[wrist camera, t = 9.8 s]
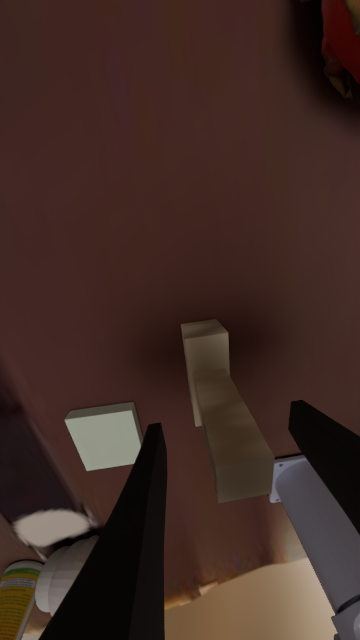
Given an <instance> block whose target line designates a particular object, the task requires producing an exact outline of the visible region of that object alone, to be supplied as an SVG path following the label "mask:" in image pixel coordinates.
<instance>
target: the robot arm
mask: <svg viewBox="0 0 360 640" xmlns="http://www.w3.org/2000/svg"><path fill="white" fill-rule="evenodd" d="M288 430H289V431H290V433H291V435H292V437H293V438H294V440H295V442H296V444H297V445H298V447H299V449H300V450H301V452H302V453H303V455H300V456H294V457H288V458H282V459H277V460H274V472H273V484H272V494H269V500H270V502H271V503H275V502H282V504H283V506H284V508H285V510H286V512H287V514H288V517H289V519H290V521H291V523H292V525H293V527H294V529H295V531H296V533H297V535H298V537H299V540H300V542H301V544H302V546H303V548H304V550H305V552H306V554H307V556H308V558H309V560H310V563H311V565H312V566H313V569H314V571H315V573H316V575H317V577H318V579H319V581H320V583H321V586H322V587H323V590H324V592H325V594H326V596H327V598H328V600H329V602H330V604H331V606H332V609H333V611H334V613H335V616H332V617H331V619H332V621H333V624H334V626H335V628H336V630H337V632H338V633H337V634H335V635H334V640H360V436H358V435H356V434H355V433H353V432H352V431H350V430H348V429H347V428H345V427H344V426H342V425H341V424H339V423H337V422H336V421H334V420H333V419H331V418H330V417H328V416H326V415H325V414H323V413H322V412H320V411H319V410H317V409H316V408H314V407H313V406H311V405H309V404H308V403H306V402H305V401H303V400H299V401H292V402H291V408H290V417H289V427H288ZM166 490H167V449H166V444H165V440H164V435H163V431H162V426H161V423H155V424H149V425H148V427H147V431H146V434H145V437H144V440H143V442H142V445H141V448H140V450H139V453H138V456H137V458H136V460H135V463H134V465H133V468H132V470H131V472H130V475H129V477H128V479H127V481H126V484H125V486H124V488H123V490H122V492H121V494H120V497H119V499H118V501H117V503H116V505H115V507H114V509H113V511H112V513H111V515H110V517H109V519H108V521H107V523H106V525H105V527H104V528H103V530H102V532H101V534H100V536H99V538H98V540H97V542H96V543H95V545H94V547H93V549H92V551H91V552H90V554H89V556H88V558H87V559H86V561H85V563H84V565H83V567H82V568H81V570H80V572H79V574H78V575H77V577H76V579H75V580H74V582H73V584H72V585H71V587H70V589H69V590H68V592H67V594H66V595H65V597H64V599H63V600H62V602H61V603H60V605H59V607H58V608H57V610H56V612H55V613H54V615H53V617H52V618H51V620H50V621H49V623H48V625H47V626H46V628H45V630H44V631H43V633H42V635H41V636H40V638H39V639H38V640H165V634H164V633H165V632H164V529H165V510H166Z"/></svg>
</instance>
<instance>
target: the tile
mask: <svg viewBox="0 0 360 640" xmlns="http://www.w3.org/2000/svg"><path fill="white" fill-rule="evenodd" d="M65 422H66V425H67V427H68V429H69V431H70V434H71V436H72V438H73V441H74V443H75V445H76V447H77V450H78V452H79V454H80V457H81V459H82V461H83V463H84V466H85V468H86V470H87V471H89V470H95V469H102V468H108V467H115V466H122V465H128V464H134V463H135V460H136V458H137V456H138V453H139V450H140V448H141V445H142V442H143V437H142V433H141V429H140V425H139V421H138V417H137V413H136V409H135V405H134V402H129V403H122V404H115V405H108V406H101V407H94V408H86V409H79V410H72V411H70V412H69V414H68V415H67V417H66V418H65Z"/></svg>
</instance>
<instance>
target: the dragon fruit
mask: <svg viewBox="0 0 360 640" xmlns="http://www.w3.org/2000/svg"><path fill="white" fill-rule="evenodd" d="M300 1H301V2H302V3H304V2H305V1H309V0H300ZM322 17H323V29H324V30H323V33H324V36H323V40H322V54H323V57H324V59H325V62H326V66H325V67H324V69H323V71H324V74H325V75H326V77H328V78H329V80H330V81H331V83H332V85H333V86H334V88H335V89H336V90H337V91H339V92H340V93H341V94H342V96H343V98H349V99H353V94H352V92H351V89H352V84H351V83H352V79H353V77H354V79H355V80H356V82H357V83H358V84H360V0H322Z"/></svg>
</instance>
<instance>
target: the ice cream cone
mask: <svg viewBox="0 0 360 640" xmlns="http://www.w3.org/2000/svg"><path fill="white" fill-rule="evenodd" d="M98 538H99V536H98V535H94V536H92V537H90V538H89V539H82V540H79V541H77V542H76V543H74V544H73V545H72V546H64V547H62V548H60V549H58V550H57V551H55V552H54V553H53V554H52V555H51V556H50V558H49V559H48V560H47V562H46V563H45V565H44V566H43V568H42V570H41V572H40V575H39V577H38V580H37V584H36V590H35V599H36V603H37V606H38V608H39V609H40V610H42V611H44V612H50V614H51V615H52V617H53V615H54V613H55V612H56V610H57V608H58V607H59V605H60V603H61V602H62V600H63V599H64V597H65V595H66V594H67V592H68V590H69V589H70V587H71V585H72V584H73V582H74V580H75V579H76V577H77V575H78V574H79V572H80V570H81V568H82V567H83V565H84V563H85V561H86V559H87V558H88V556H89V554H90V552H91V551H92V549H93V547H94V545H95V543H96V542H97V540H98Z"/></svg>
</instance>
